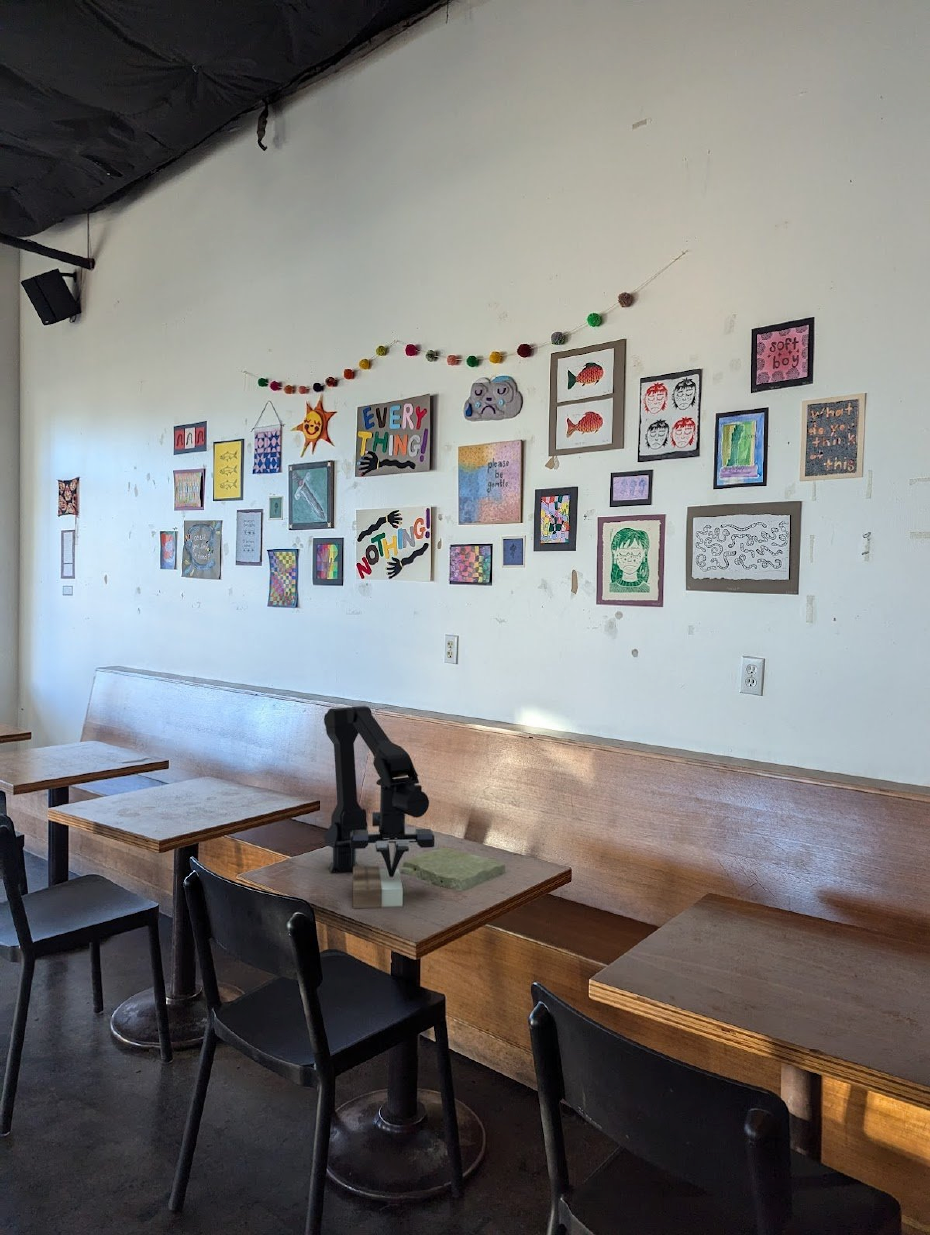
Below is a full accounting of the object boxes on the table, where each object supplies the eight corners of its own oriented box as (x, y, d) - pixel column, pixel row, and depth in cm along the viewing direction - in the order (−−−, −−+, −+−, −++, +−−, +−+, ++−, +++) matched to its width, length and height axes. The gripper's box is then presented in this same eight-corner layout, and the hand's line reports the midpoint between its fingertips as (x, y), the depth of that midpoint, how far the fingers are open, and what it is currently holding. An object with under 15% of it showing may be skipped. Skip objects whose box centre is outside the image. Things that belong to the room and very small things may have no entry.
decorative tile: (443, 858, 223) (443, 844, 223) (506, 875, 211) (506, 860, 211) (394, 875, 208) (395, 861, 208) (460, 894, 196) (460, 879, 196)
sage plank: (402, 907, 186) (402, 889, 186) (381, 908, 186) (381, 889, 186) (398, 885, 200) (398, 868, 200) (378, 886, 200) (379, 869, 200)
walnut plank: (352, 883, 200) (353, 865, 200) (378, 882, 201) (378, 865, 201) (353, 908, 184) (353, 889, 184) (381, 907, 185) (381, 888, 185)
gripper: (430, 798, 202) (428, 864, 203) (350, 799, 200) (349, 866, 200) (435, 810, 191) (433, 880, 192) (351, 811, 189) (349, 882, 189)
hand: (391, 876), depth 193 cm, fingers closed
